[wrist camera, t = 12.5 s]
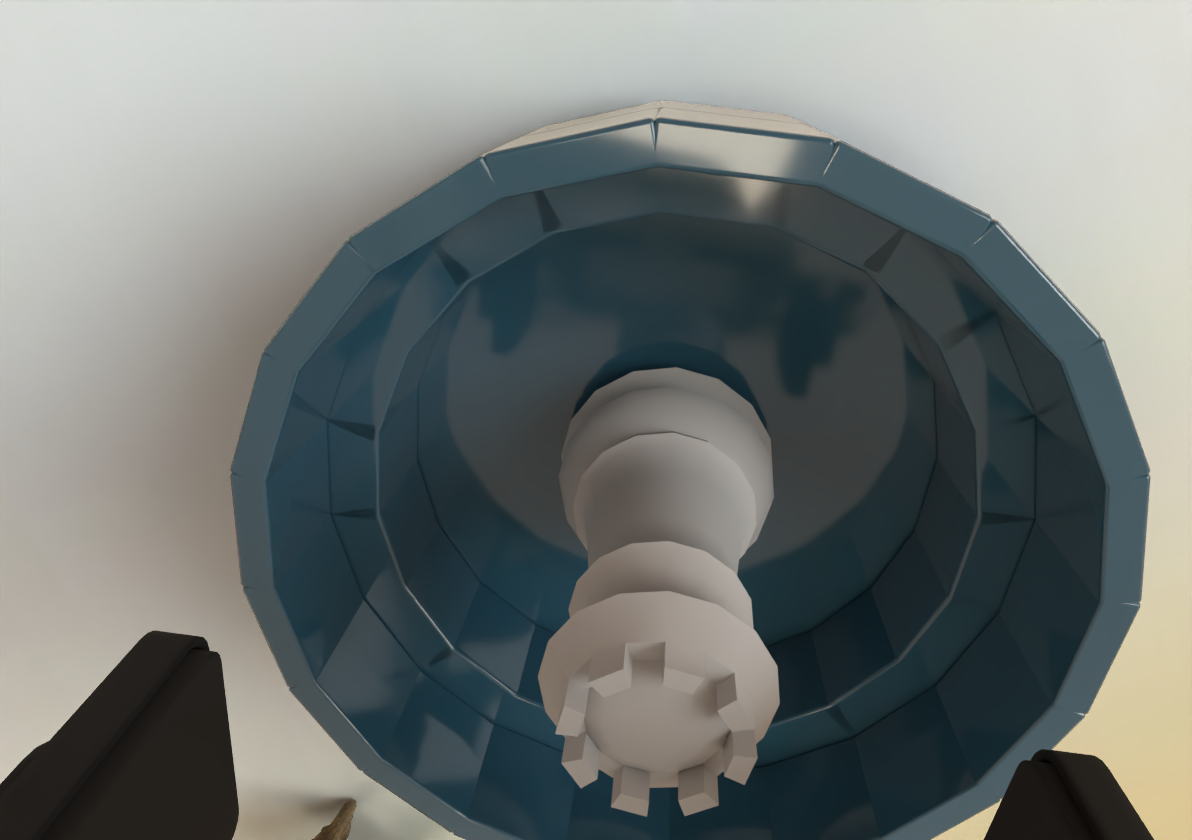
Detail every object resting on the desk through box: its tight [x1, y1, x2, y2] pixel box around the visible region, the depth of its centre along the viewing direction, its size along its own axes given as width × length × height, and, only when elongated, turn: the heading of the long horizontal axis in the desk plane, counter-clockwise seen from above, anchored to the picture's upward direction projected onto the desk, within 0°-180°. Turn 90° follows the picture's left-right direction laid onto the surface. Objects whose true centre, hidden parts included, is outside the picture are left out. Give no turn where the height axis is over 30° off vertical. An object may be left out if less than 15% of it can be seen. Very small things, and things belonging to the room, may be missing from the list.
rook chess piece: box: [538, 367, 780, 817], centre depth 13 cm, size 4×4×8 cm
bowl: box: [230, 100, 1150, 840], centre depth 15 cm, size 14×14×6 cm
